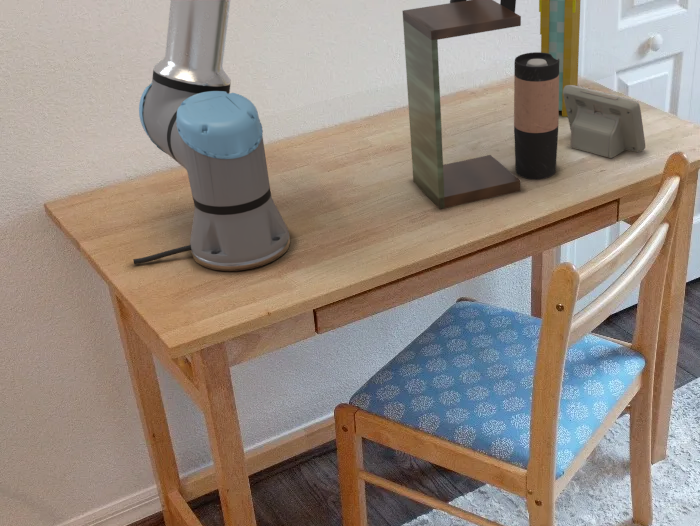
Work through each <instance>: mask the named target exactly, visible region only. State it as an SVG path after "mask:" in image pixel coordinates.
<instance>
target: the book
mask: <svg viewBox="0 0 700 526" xmlns="http://www.w3.org/2000/svg"><path fill="white" fill-rule="evenodd" d="M538 12H539V13H540V14H539V16H540V17H539V35H540V52H542V53H549V54H551V55H552V57H553V58H555V59H556V60H558V59H559V111H561V117H564V118H566V117H567V118H568V115H567V111H566V106H565V101H564V96H563V89H564V87H565V86H566V85H575V86H579V83H578V82H579V58H580V57H579V56H580V55H579V54H580V31H581V30H580V29H581V27H580V26H581V25H580V24H581V0H538Z"/></svg>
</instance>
